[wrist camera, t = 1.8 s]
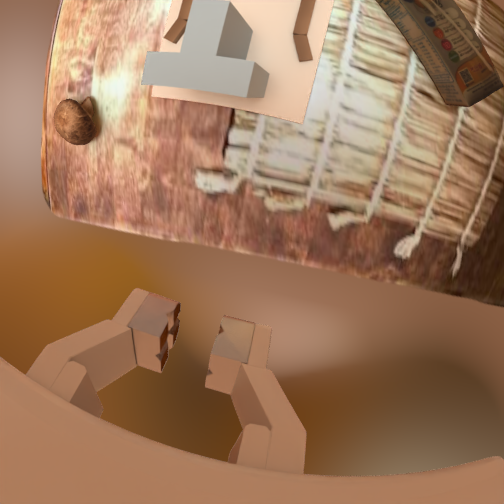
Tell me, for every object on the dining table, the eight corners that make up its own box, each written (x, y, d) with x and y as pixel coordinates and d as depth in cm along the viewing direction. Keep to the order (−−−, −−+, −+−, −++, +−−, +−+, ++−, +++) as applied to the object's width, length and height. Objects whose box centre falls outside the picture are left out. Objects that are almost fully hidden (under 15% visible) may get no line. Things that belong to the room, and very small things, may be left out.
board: (337, -18, 21) (338, -20, 20) (302, 123, 32) (302, 124, 31) (186, -36, 21) (184, -38, 21) (154, 96, 32) (151, 96, 31)
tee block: (279, 35, 26) (268, 5, 15) (263, 97, 30) (246, 97, 20) (203, 25, 26) (159, -1, 15) (190, 85, 30) (141, 84, 20)
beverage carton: (402, -32, 18) (419, -49, 12) (482, 86, 24) (509, 89, 18) (359, -15, 21) (370, -34, 15) (445, 107, 27) (470, 113, 21)
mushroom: (85, 77, 28) (52, 107, 26) (118, 116, 34) (88, 148, 31) (69, 95, 33) (41, 122, 31) (98, 129, 38) (73, 156, 36)
